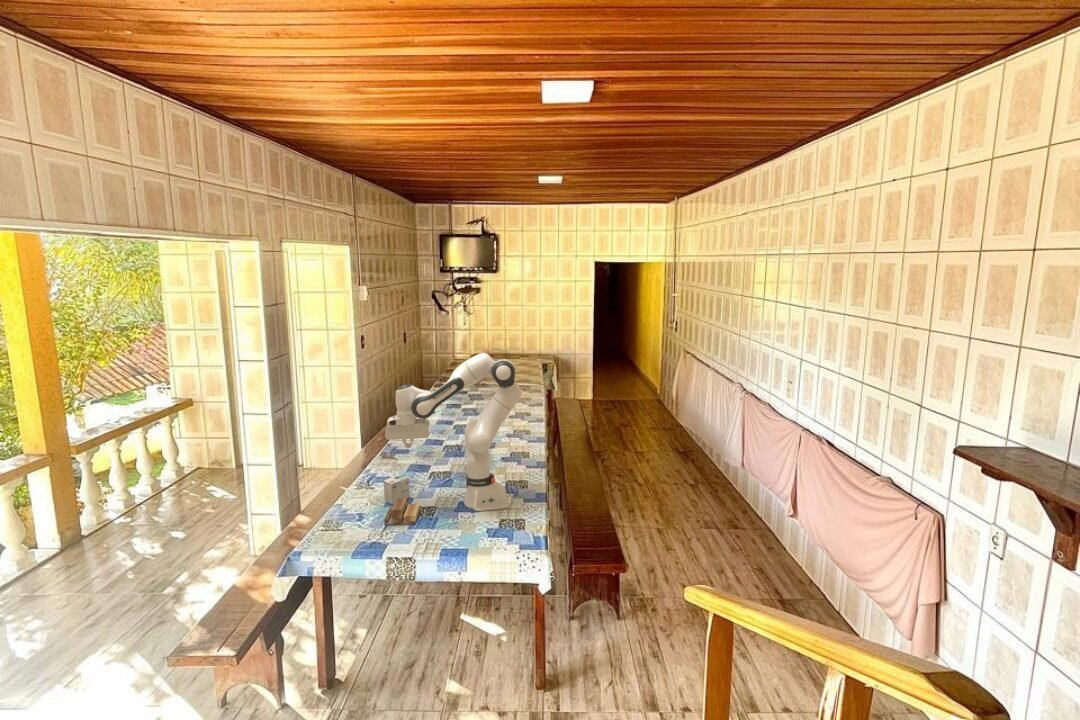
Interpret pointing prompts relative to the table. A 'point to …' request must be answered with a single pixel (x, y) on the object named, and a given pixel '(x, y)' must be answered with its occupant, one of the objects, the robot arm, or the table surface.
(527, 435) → the table surface
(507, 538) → the table surface
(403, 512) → the walnut plank
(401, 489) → the light bulb box
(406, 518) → the floor section
